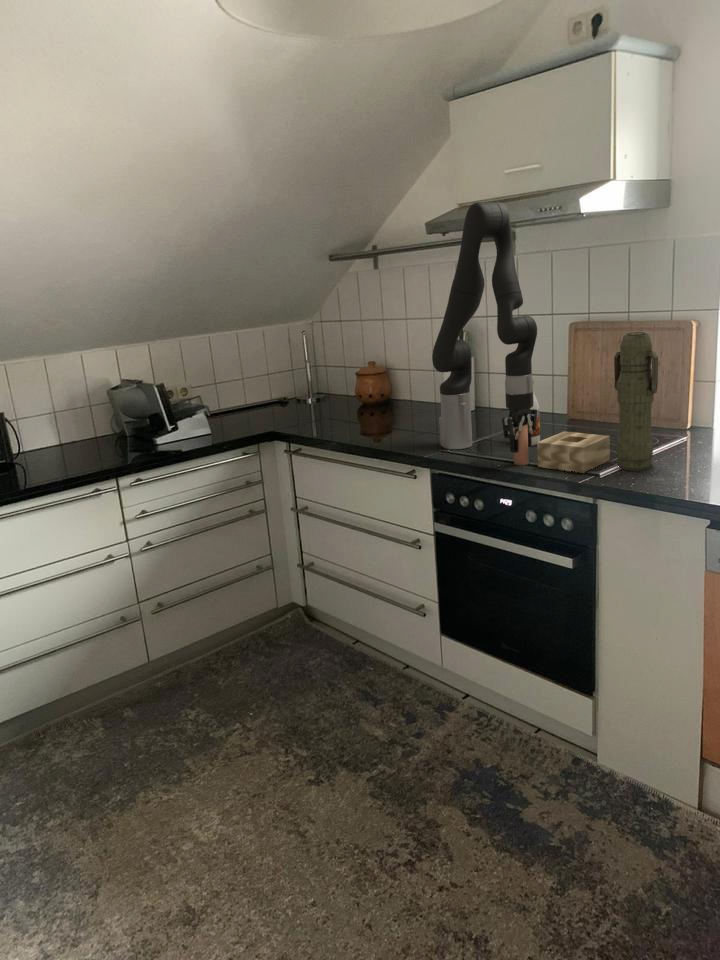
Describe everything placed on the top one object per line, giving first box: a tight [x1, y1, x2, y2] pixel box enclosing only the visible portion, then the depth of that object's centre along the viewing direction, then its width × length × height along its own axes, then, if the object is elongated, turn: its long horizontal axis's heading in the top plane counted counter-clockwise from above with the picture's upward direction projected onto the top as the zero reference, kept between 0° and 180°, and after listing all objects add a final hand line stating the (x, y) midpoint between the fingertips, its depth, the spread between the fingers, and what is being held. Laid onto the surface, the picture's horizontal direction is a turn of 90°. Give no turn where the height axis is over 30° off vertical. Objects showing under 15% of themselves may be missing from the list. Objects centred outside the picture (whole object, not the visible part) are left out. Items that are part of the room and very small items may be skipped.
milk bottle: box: [530, 380, 541, 447], centre depth 229 cm, size 8×8×20 cm
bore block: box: [536, 431, 611, 474], centre depth 204 cm, size 14×14×7 cm
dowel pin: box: [513, 424, 529, 466], centre depth 209 cm, size 4×4×11 cm
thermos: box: [613, 331, 659, 472], centre depth 193 cm, size 9×12×35 cm
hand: (520, 449), depth 209 cm, fingers open, 6 cm apart
